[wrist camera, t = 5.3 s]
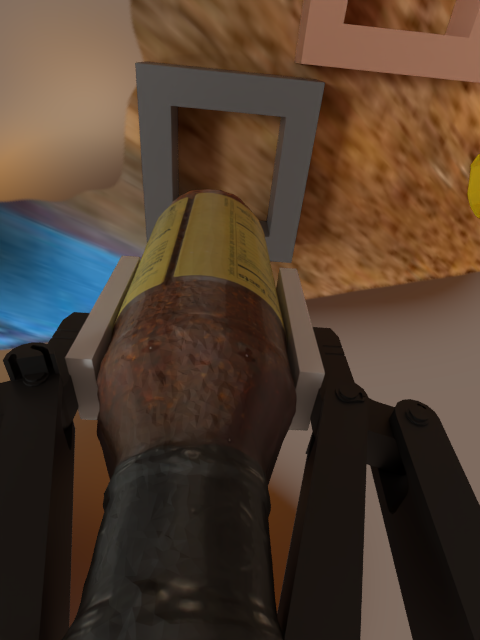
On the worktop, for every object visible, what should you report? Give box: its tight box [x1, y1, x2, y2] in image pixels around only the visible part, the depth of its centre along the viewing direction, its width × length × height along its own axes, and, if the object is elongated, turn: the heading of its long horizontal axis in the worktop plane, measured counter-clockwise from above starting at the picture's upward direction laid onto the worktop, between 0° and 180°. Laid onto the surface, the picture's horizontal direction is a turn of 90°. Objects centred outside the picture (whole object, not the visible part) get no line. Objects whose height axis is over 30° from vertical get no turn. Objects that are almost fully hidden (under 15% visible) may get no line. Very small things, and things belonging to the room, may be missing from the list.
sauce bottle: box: [62, 189, 297, 640], centre depth 14 cm, size 6×6×20 cm
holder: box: [135, 62, 325, 263], centre depth 33 cm, size 14×15×4 cm
